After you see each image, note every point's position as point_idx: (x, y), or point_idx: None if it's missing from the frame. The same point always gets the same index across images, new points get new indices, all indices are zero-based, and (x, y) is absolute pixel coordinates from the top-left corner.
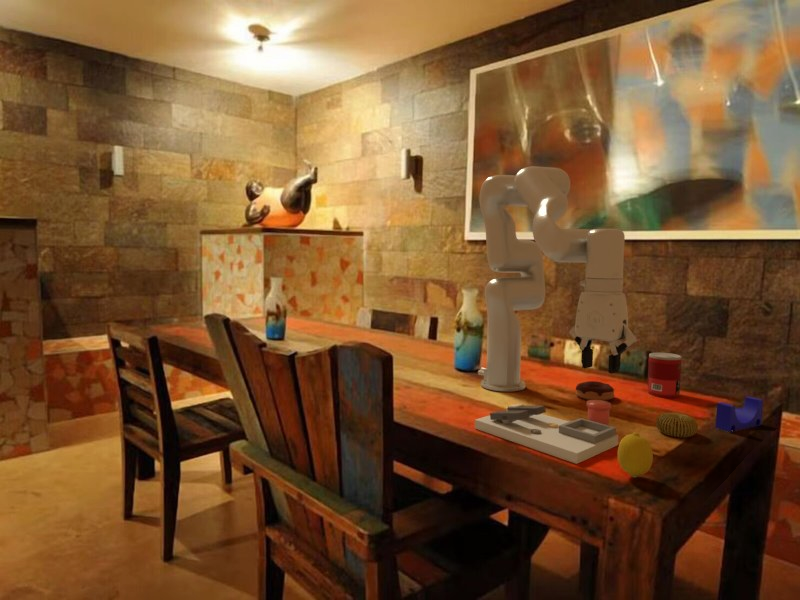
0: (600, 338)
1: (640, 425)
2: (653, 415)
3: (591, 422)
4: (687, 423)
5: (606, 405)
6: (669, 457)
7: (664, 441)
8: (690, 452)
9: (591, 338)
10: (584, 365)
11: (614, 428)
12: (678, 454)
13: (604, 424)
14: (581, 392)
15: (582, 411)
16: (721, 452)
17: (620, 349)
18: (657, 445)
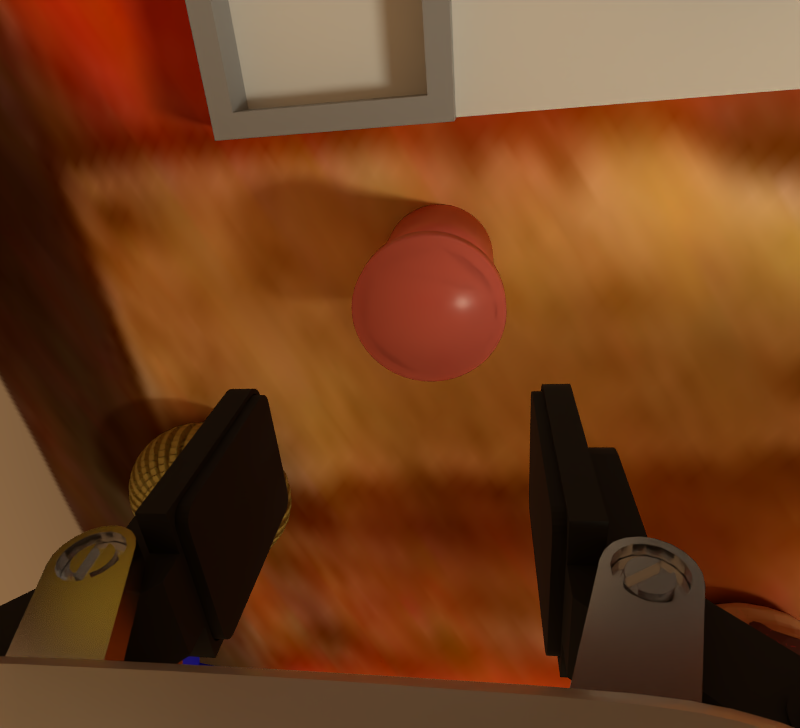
0: (105, 687)
1: (360, 459)
2: (406, 596)
3: (357, 102)
4: (134, 485)
5: (364, 303)
6: (38, 189)
7: (182, 354)
8: (54, 316)
9: (363, 677)
10: (546, 402)
11: (211, 119)
12: (52, 255)
13: (286, 134)
14: (772, 626)
15: (653, 447)
16: (20, 402)
17: (6, 621)
18: (160, 286)
